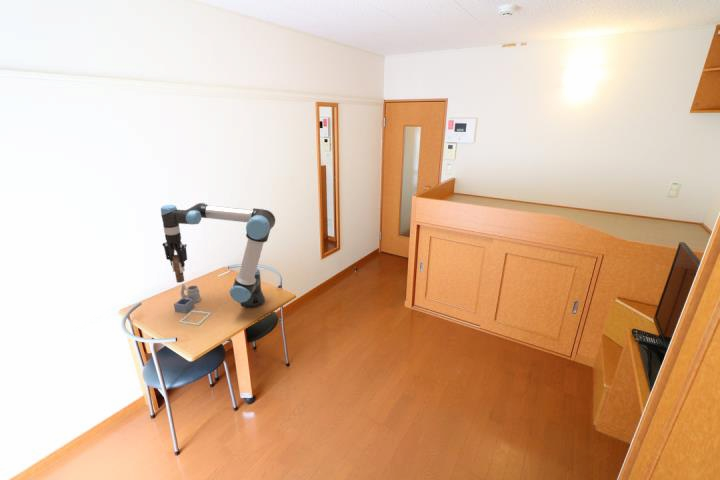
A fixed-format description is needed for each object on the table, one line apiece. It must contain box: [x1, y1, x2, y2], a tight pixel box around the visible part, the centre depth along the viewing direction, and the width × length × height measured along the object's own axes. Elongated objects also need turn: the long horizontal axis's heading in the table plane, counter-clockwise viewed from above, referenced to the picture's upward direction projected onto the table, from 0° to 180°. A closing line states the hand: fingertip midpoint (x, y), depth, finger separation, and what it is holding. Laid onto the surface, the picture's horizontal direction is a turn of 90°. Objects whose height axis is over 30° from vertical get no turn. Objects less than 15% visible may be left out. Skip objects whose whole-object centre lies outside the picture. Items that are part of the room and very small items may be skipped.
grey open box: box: [173, 297, 195, 314], centre depth 200 cm, size 8×8×6 cm
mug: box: [180, 283, 202, 304], centre depth 209 cm, size 8×12×12 cm, turn 88°
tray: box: [178, 309, 212, 327], centre depth 192 cm, size 12×12×2 cm
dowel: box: [172, 254, 185, 284], centre depth 191 cm, size 4×4×16 cm
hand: (178, 271), depth 192 cm, fingers closed on dowel, 4 cm apart
